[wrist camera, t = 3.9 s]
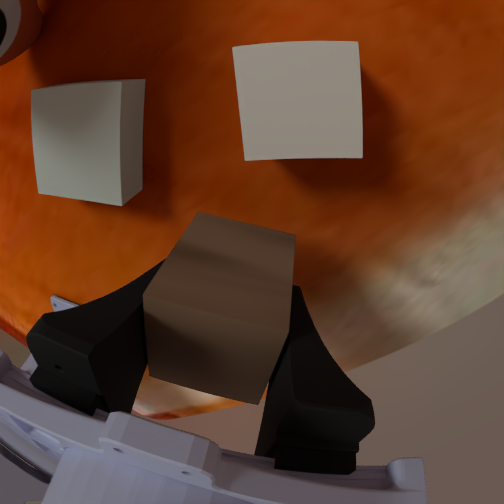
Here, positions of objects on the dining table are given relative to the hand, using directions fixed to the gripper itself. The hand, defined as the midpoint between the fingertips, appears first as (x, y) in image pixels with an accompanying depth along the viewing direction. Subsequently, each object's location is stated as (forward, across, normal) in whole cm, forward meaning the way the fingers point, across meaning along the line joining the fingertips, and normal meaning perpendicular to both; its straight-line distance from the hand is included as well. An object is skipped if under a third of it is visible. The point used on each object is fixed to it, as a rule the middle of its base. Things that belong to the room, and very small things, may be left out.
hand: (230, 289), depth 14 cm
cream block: (+6, -1, -8) cm, 10 cm away
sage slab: (+7, +11, -4) cm, 13 cm away
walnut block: (+2, 0, 0) cm, 2 cm away
